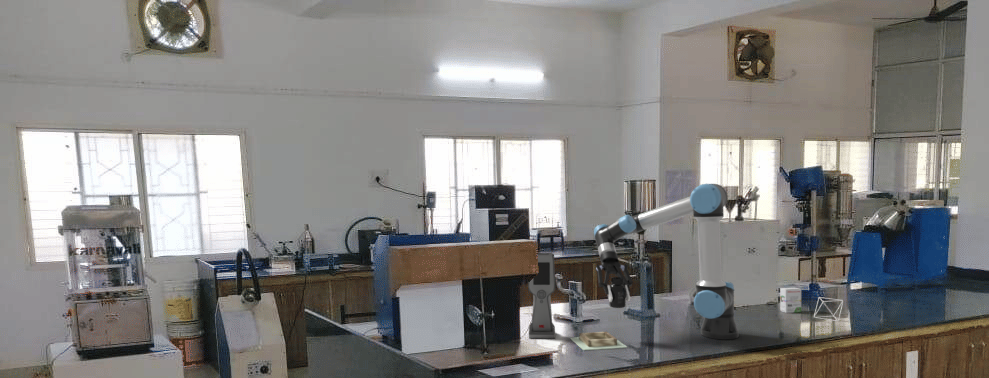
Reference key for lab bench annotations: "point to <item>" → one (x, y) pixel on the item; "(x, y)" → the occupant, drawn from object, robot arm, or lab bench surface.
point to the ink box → (790, 300)
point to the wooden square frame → (597, 339)
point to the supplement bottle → (618, 293)
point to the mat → (585, 347)
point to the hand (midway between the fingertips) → (619, 300)
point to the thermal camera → (542, 298)
